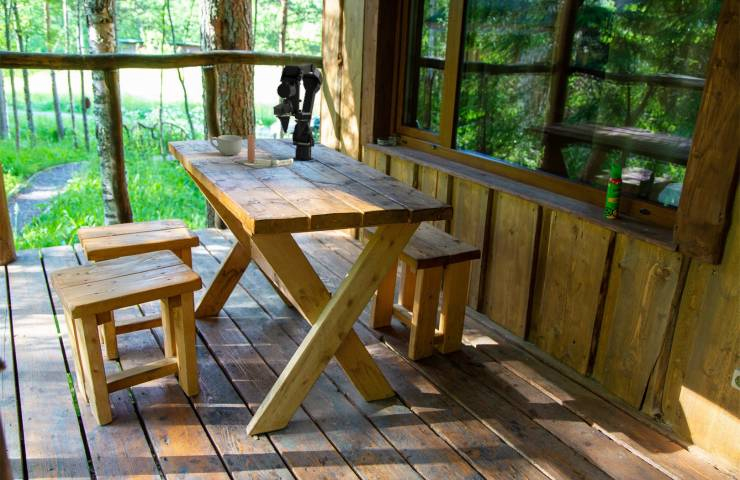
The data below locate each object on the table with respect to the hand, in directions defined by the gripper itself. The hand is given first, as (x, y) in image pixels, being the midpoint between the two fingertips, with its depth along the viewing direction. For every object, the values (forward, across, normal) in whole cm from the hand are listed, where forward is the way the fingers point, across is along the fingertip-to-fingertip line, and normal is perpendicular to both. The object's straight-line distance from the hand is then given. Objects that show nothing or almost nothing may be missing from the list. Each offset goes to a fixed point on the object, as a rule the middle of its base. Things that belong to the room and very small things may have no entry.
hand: (291, 134), depth 251 cm
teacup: (+13, -33, -11) cm, 37 cm away
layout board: (+13, -9, -8) cm, 18 cm away
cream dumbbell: (+13, -1, -3) cm, 13 cm away
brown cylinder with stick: (+12, -6, -11) cm, 18 cm away
